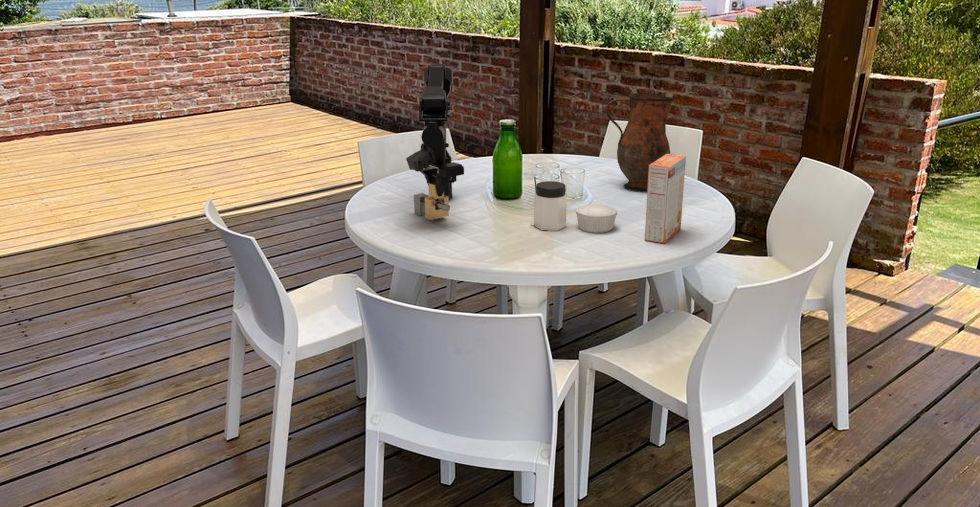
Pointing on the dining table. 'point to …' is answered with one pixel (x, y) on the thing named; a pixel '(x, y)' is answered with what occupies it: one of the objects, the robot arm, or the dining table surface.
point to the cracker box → (664, 197)
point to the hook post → (420, 204)
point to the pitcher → (642, 137)
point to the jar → (550, 206)
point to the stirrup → (430, 208)
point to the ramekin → (596, 218)
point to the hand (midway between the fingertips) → (436, 195)
